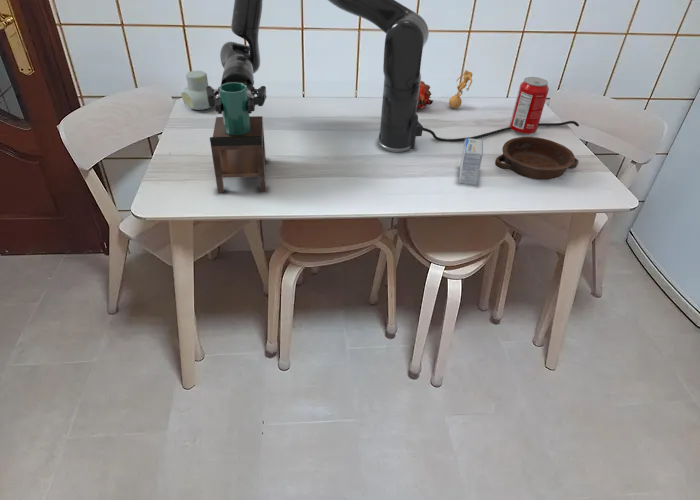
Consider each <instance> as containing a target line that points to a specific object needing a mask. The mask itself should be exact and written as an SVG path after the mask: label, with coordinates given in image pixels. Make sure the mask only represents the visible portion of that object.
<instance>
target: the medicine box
mask: <svg viewBox="0 0 700 500" xmlns="http://www.w3.org/2000/svg"><path fill="white" fill-rule="evenodd" d="M465 138H466V139H465V141H464V144H463V149H462V155H461V158H460V159H461V160H460V165H459V175H458V176H459V178H458V179H459V180H458V184H465V185H473V186H476V185H478V181H479V174H480V171H481V165H482V161H483V157H484V141H483V140H482V139H479V138H478V139H470V138H468V137H465Z"/></svg>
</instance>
